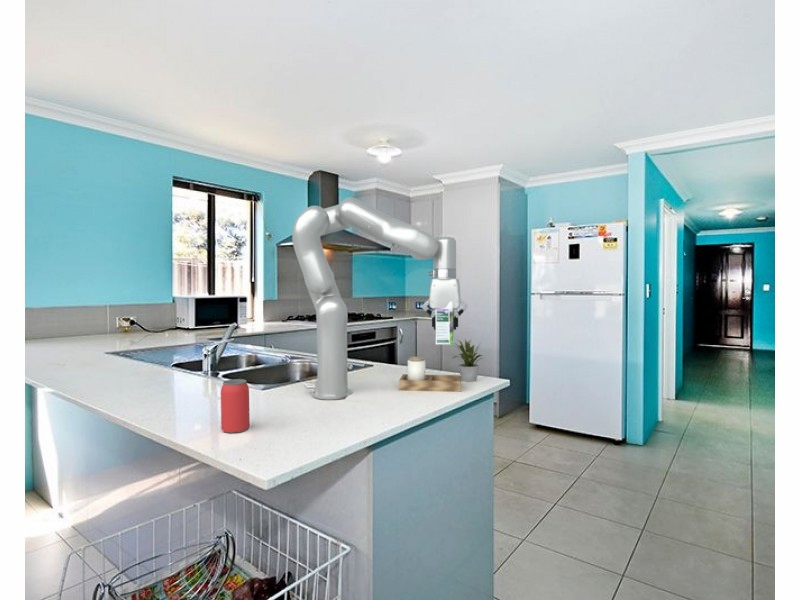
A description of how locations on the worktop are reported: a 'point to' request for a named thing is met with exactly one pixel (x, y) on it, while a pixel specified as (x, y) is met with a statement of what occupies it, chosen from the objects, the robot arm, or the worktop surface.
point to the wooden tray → (432, 383)
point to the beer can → (235, 406)
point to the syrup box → (445, 325)
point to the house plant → (468, 362)
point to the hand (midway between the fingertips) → (445, 328)
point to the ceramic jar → (416, 368)
